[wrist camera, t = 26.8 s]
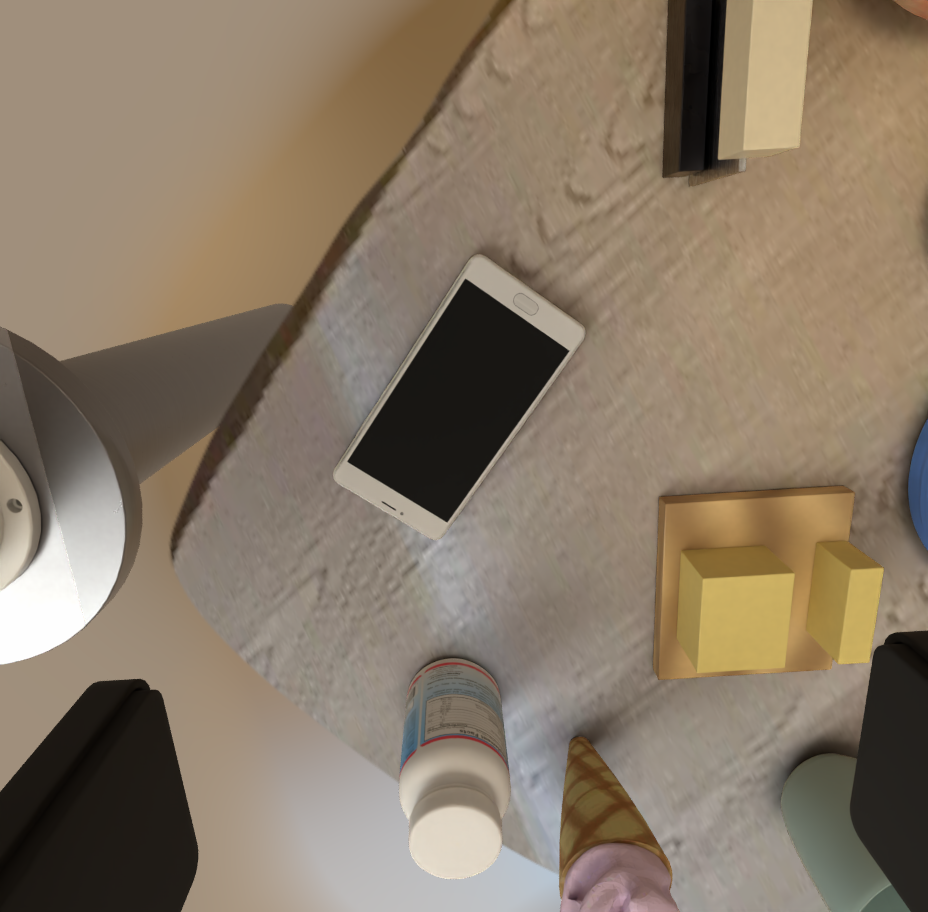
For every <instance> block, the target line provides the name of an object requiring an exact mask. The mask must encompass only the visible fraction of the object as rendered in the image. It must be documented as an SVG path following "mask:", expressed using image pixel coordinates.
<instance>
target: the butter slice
mask: <svg viewBox="0 0 928 912" xmlns="http://www.w3.org/2000/svg"><path fill="white" fill-rule="evenodd" d="M883 572H884V567H882V566H881V565H880V564H878V563H877V562H875V561H874V560H873V559H871V558H870V557H868V556H867V555H866V554H864V553H863V552H861V551H860V550H859V549H857V548H856V547H854V546H853V545H852V544H850V543H849V542H847V541H830V542H817V543H816V550H815V559H814V567H813V575H812V583H811V592H810V600H809V608H808V617H807V625H806V631H807V632H808V633H809V634H810V635H811V636H812V637H813V638H814V639H815V640H816V641H817V642H818V643H819V645H820V646H821V647H822V648H823V649H824V650H825V651H826V652H827V653H828V654H829V655H830V656H831V657H832V658H833V659H834V660H835V661H836V662H837V663H838V664H852V663H868V662H869V661H870V655H871V648H872V642H873V636H874V629H875V623H876V617H877V610H878V604H879V597H880V591H881V585H882V578H883Z"/></svg>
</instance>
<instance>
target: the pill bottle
mask: <svg viewBox="0 0 928 912" xmlns="http://www.w3.org/2000/svg"><path fill="white" fill-rule="evenodd" d="M510 793H511V786H510V775H509V766H508V757H507V749H506V740H505V731H504V722H503V714H502V705H501V697H500V692H499V688H498V686H497V684H496V682H495V680H494V679H493V678H492V676H491V675H490V674H489V673H488V672H487V671H486V670H484V669H483V668H481V667H480V666H478V665H477V664H475V663H472V662H470V661H467V660H463V659H456V658H450V659H443V660H439V661H436V662H434V663H431V664H429V665H428V666H426V667H425V668H423V669H422V670H421V671H420V672H419V673H418V674H417V675H416V676H415V677H414V679H413V680H412V682H411V684H410V686H409V689H408V693H407V700H406V710H405V721H404V732H403V744H402V755H401V766H400V778H399V798H400V803H401V806H402V809H403V811H404V813H405V815H406V817H407V818H408V820H409V849H410V853H411V855H412V857H413V859H414V860H415V862H416V863H417V864H418V865H419V866H420V867H421V868H422V869H423V870H425V871H426V872H428V873H430V874H432V875H435V876H437V877H441V878H447V879H462V878H468V877H471V876H474V875H477V874H479V873H481V872H483V871H484V870H486V869H487V868H488V867H489V866H490V865H492V864H493V863H494V861H495V860H496V859H497V857H498V855H499V853H500V851H501V847H502V820H501V818H502V817H503V815H504V813H505V812H506V809H507V807H508V804H509V800H510Z"/></svg>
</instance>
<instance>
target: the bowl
mask: <svg viewBox="0 0 928 912" xmlns="http://www.w3.org/2000/svg"><path fill="white" fill-rule="evenodd" d="M908 499H909V507H910V512H911V517H912V520H913V524H914V527H915V529H916V532H917V534H918V536H919V538H920V540H921V541H922V543H923V545H924V546H925V548H926V549H927V550H928V419H927V420H926V422H925V425H924V427H923V429H922V431H921V433H920V436H919V438H918V440H917V443H916V446H915V449H914V453H913V456H912V460H911V466H910V472H909V481H908Z"/></svg>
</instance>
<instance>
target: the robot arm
mask: <svg viewBox="0 0 928 912" xmlns="http://www.w3.org/2000/svg"><path fill="white" fill-rule="evenodd" d="M40 534H41V512H40V508H39V503H38V499H37V494H36V492H35V490H34V487H33V485H32V483H31V481H30V478H29V476H28V474H27V473H26V471H25V470H24V468H23V467H22V465H21V464H20V462H19V461H18V459H17V458H16V457H15V455H14V454H13V453H12V452H11V451H10V450H9V449H8V448H7V447H6V446H5V445H4V443H3V442H2V441H1V440H0V591H2V590H3V589H5V588H6V587H7V586H9V585H10V584H11V583H12V582H14V581H15V580H16V579H17V578H19V577H20V576H21V574H22V573H23V572H24V571H25V569H26V568H27V567H28V566H29V565H30V563H31V561H32V559H33V557H34V555H35V553H36V550H37V548H38V543H39V539H40ZM850 816H851V820H852V824H853V827H854V829H855V831H856V834H857V835H858V837H859V839H860V840H861V842H862V843H863V845H864V846H865V847H866V849H867V850H868V852H869V853H870V855H871V856H872V857H873V859H874V860H875V862H876V863H877V865H878V866H879V867H880V869H881V870H882V872H883V873H884V874H885V876H886V877H887V879H888V880H889V882H890V883H891V884H892V886H893V887H894V889H895V890H896V891H897V893H898V894H899V896H900V897H901V899H902V900H903V901H904V903H905V904H906V906H907V907H908V909H909V910H910V911H911V912H928V631H914V632H897V633H893V634H890V635H889V636H888V637H887V638H886V640H885V643H884V645H881V646H878V647H877V648H876V650H875V652H874V655H873V661H872V667H871V673H870V680H869V686H868V692H867V699H866V705H865V711H864V718H863V724H862V731H861V737H860V743H859V750H858V756H857V762H856V769H855V775H854V781H853V788H852V794H851V801H850ZM197 863H198V845H197V841H196V837H195V832H194V828H193V824H192V819H191V815H190V811H189V807H188V802H187V799H186V794H185V790H184V786H183V781H182V777H181V773H180V768H179V764H178V760H177V756H176V751H175V747H174V743H173V739H172V735H171V730H170V726H169V722H168V718H167V713H166V709H165V705H164V700H163V698H162V695H161V693H160V692H159V691H158V690H150V687H149V685H148V684H147V683H146V681H145V680H142V679H131V680H116V681H115V680H113V681H99V682H96V683H93V684H92V685H91V686H90V687H88V688H87V689H86V691H85V692H84V693H83V694H82V696H81V697H80V698H79V699H78V700H77V701H76V702H75V704H74V705H73V706H72V707H71V709H70V710H69V711H68V712H67V713H66V714H65V716H64V717H63V718H62V719H61V720H60V722H59V723H58V724H57V725H56V726H55V727H54V729H53V730H52V731H51V732H50V733H49V735H48V736H47V737H46V738H45V739H44V741H43V742H42V743H41V744H40V745H39V747H38V748H37V749H36V750H35V751H34V752H33V754H32V755H31V756H30V757H29V758H28V760H27V761H26V762H25V763H24V764H23V765H22V767H21V768H20V769H19V770H18V771H17V773H16V774H15V775H14V776H13V777H12V779H11V780H10V781H9V782H8V783H7V784H6V786H5V787H4V788H3V789H2V790H1V792H0V912H181V910H182V907H183V905H184V902H185V900H186V898H187V895H188V893H189V890H190V888H191V886H192V883H193V880H194V877H195V874H196V870H197Z"/></svg>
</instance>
